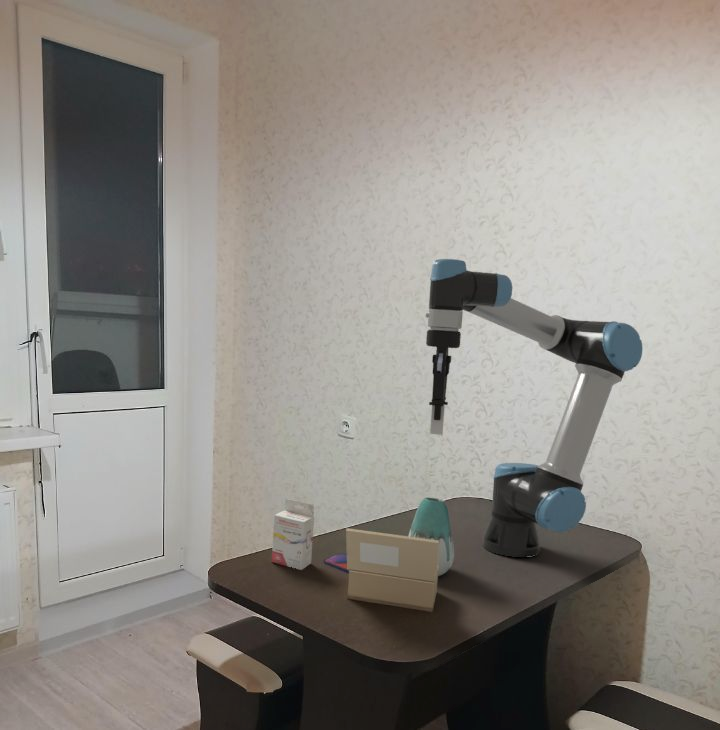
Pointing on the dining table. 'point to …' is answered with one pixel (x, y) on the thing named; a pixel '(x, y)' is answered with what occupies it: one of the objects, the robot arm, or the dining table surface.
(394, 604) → the box
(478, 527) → the dining table surface
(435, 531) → the vase
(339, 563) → the smartphone
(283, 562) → the ink cartridge box
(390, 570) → the lid
